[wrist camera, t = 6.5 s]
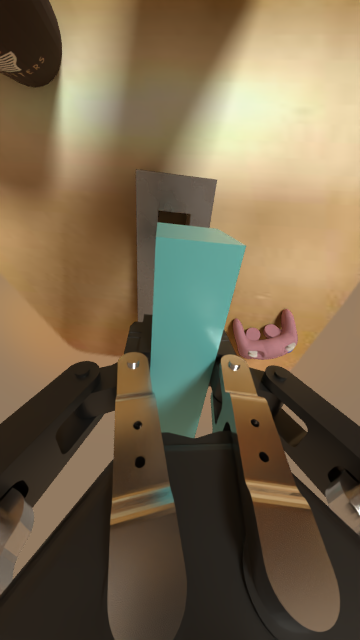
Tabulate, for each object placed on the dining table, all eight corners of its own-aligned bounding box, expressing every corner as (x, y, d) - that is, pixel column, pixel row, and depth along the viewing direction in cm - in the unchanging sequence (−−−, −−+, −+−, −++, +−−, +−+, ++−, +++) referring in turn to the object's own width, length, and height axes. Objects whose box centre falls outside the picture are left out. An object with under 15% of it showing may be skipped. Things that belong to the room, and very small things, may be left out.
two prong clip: (158, 216, 12) (155, 236, 6) (205, 222, 13) (245, 245, 7) (151, 361, 18) (147, 439, 13) (183, 362, 19) (194, 438, 13)
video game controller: (228, 329, 37) (240, 366, 33) (231, 317, 33) (244, 357, 29) (282, 319, 36) (300, 355, 33) (291, 305, 32) (312, 344, 29)
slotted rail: (139, 172, 22) (135, 169, 19) (209, 181, 23) (217, 179, 20) (140, 313, 31) (138, 326, 28) (190, 315, 32) (193, 328, 29)
